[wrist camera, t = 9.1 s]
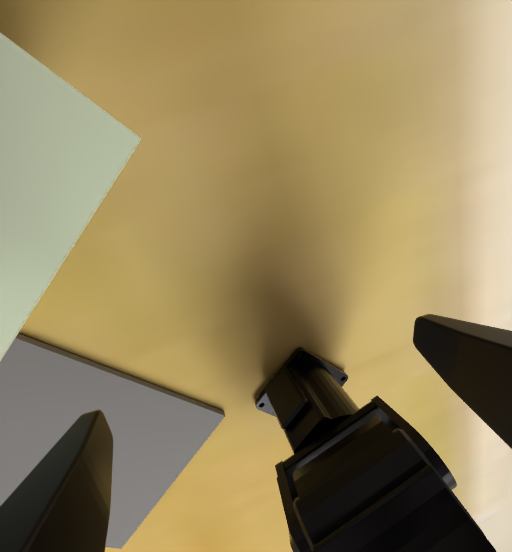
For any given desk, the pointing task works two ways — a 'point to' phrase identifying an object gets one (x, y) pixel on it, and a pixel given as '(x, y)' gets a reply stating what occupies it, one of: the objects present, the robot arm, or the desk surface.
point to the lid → (47, 177)
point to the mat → (120, 417)
